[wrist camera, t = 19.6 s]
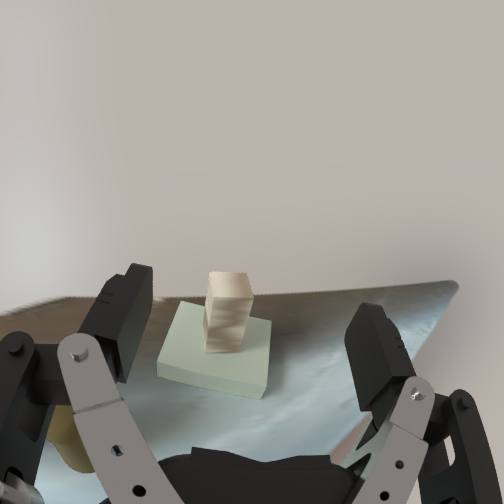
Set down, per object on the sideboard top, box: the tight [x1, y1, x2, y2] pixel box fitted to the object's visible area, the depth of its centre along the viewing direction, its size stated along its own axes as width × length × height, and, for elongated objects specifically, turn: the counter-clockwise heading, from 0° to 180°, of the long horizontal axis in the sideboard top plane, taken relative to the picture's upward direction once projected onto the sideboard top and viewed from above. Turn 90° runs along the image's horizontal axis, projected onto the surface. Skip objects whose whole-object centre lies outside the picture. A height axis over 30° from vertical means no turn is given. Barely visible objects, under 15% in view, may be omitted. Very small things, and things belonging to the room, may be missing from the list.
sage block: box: [157, 301, 272, 400], centre depth 41 cm, size 14×12×4 cm
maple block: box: [202, 272, 254, 353], centre depth 38 cm, size 4×4×10 cm
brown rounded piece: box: [46, 405, 95, 473], centre depth 22 cm, size 6×6×11 cm
